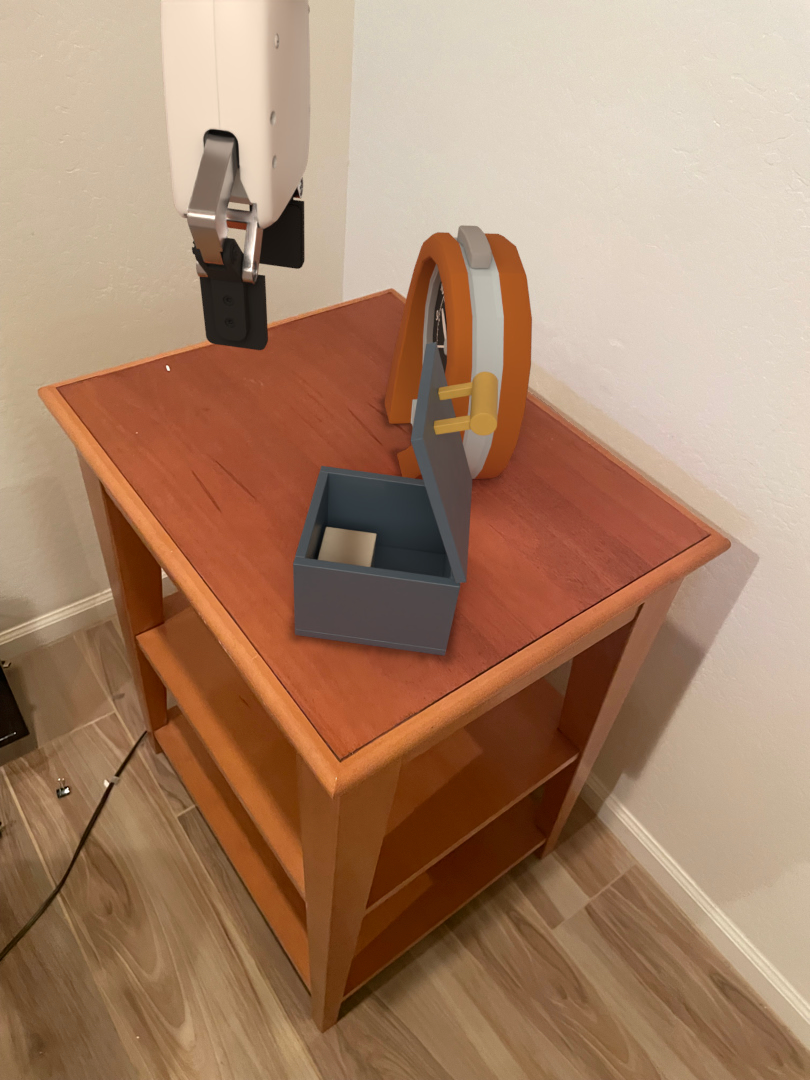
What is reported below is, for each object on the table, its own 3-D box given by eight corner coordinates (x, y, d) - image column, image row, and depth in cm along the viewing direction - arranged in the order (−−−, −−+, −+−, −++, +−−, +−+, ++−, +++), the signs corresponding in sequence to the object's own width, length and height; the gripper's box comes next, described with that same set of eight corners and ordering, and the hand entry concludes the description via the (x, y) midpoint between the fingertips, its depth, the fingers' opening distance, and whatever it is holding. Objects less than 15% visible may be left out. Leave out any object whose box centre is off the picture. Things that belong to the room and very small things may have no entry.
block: (316, 598, 63) (316, 563, 60) (325, 560, 66) (325, 526, 63) (366, 605, 63) (369, 570, 60) (373, 567, 66) (376, 533, 63)
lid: (410, 440, 45) (490, 428, 44) (425, 343, 53) (493, 331, 52) (455, 583, 54) (523, 577, 53) (463, 482, 62) (522, 474, 61)
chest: (294, 635, 61) (292, 563, 54) (320, 537, 69) (321, 465, 63) (445, 656, 61) (460, 587, 54) (452, 555, 69) (467, 485, 63)
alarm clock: (378, 380, 88) (394, 184, 72) (458, 379, 90) (490, 187, 74) (409, 507, 73) (438, 294, 57) (504, 502, 75) (558, 295, 59)
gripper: (211, -110, 37) (235, 231, 49) (61, -68, 24) (143, 373, 37) (359, -90, 37) (347, 247, 49) (283, -38, 24) (292, 393, 37)
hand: (259, 301), depth 43 cm, fingers open, 9 cm apart
